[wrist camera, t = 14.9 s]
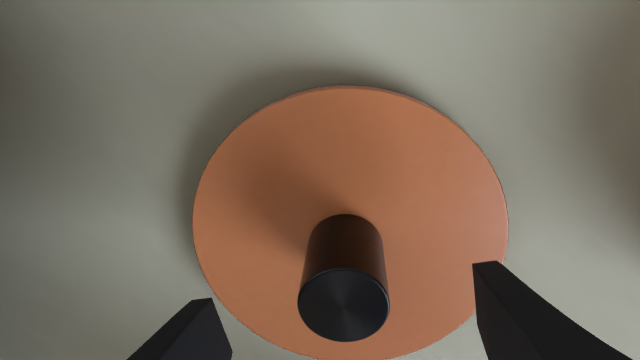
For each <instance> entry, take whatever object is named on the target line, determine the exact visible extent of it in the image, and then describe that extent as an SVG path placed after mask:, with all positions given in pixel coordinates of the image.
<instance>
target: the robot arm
mask: <svg viewBox="0 0 640 360" xmlns="http://www.w3.org/2000/svg"><path fill="white" fill-rule="evenodd" d="M472 270H473V281H474V293H475V304H476V315H477V325H478V329H479V332H480V335H481V338H482V341H483V344H484V348H485V351H486V354H487V357H488V360H632V359H631V358H629V357H627V356H626V355H624V354H622V353H621V352H619V351H617V350H616V349H614V348H612V347H611V346H609V345H608V344H606V343H604V342H603V341H601V340H600V339H598V338H597V337H595V336H594V335H593V334H591V333H590V332H588V331H587V330H585V329H584V328H582V327H581V326H579V325H578V324H577V323H575V322H574V321H572V320H571V319H570V318H568V317H567V316H565V315H564V314H563V313H562V312H560V311H559V310H558V309H556V308H555V307H554V306H552V305H551V304H550V303H548V302H547V301H546V300H544V299H543V298H542V297H541V296H539V295H538V294H537V293H536V292H534V291H533V290H532V289H531V288H529V287H528V286H527V285H526V284H525V283H523V282H522V281H521V280H520V279H519V278H517V277H516V276H515V275H514V274H513V273H512V272H510V271H509V270H508V269H507V268H506V267H505V266H503V265H502V264H501V263H500V262H498V261H497V260H495V261H487V262H480V263H472ZM231 358H232V349H231V346H230V344H229V341H228V339H227V336H226V334H225V331H224V328H223V326H222V323H221V321H220V318H219V316H218V313H217V310H216V308H215V305H214V303H213V300H212V298H205V299H198V300H192V301H190V302H189V303H188V304H187V305H185V306H184V307H183V308H182V309H181V310H180V311H179V312H178V313H176V314H175V315H174V316H173V317H172V318H171V319H170V320H169V321H168V322H167V323H166V324H165V325H163V326H162V327H161V328H160V329H159V330H158V331H157V332H156V333H155V334H154V335H153V336H152V337H151V338H150V339H149V340H147V341H146V342H145V343H144V344H143V345H142V346H141V347H140V348H139V349H138V350H137V351H136V352H135V353H133V354H132V355H131V356H130V357H129V358H128V359H127V360H231Z"/></svg>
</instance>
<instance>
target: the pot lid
mask: <svg viewBox="0 0 640 360" xmlns="http://www.w3.org/2000/svg"><path fill="white" fill-rule="evenodd" d="M508 222H509V221H508V213H507V206H506V200H505V197H504V194H503V190H502V187H501V183H500V181H499V179H498V177H497V175H496V173H495V171H494V169H493V167H492V165H491V163H490V162H489V160H488V159H487V157H486V156H485V154H484V153H483V151H482V150H481V149H480V147H479V146H478V145H477V144H476V143H475V142H474V141H473V140H472V139H471V138H470V136H469V135H468V134H467V133H466V132H465V131H464V130H463V129H462V128H461V127H460V126H458V125H457V124H456V123H455V122H453V121H452V120H451V119H450V118H448V117H447V116H446V115H445V114H443V113H441V112H440V111H438V110H436V109H434V108H433V107H431V106H429V105H428V104H426V103H424V102H421V101H419V100H417V99H414V98H412V97H409V96H407V95H405V94H401V93H397V92H394V91H390V90H386V89H382V88H375V87H367V86H360V85H335V86H328V87H320V88H313V89H309V90H306V91H302V92H298V93H295V94H291V95H289V96H286V97H284V98H282V99H279V100H277V101H275V102H272V103H270V104H268V105H267V106H265V107H263V108H262V109H260V110H258V111H257V112H255V113H253V114H252V115H251V116H249V117H248V118H247V119H246V120H245V121H243V122H242V123H241V124H240V125H238V126H237V127H236V128H235V129H234V130H233V131H232V132H231V133H230V134H229V135H228V136H227V138H226V139H225V140H224V141H223V142H222V143H221V144H220V145H219V146H218V148H217V149H216V151H215V152H214V154H213V155H212V157H211V158H210V160H209V161H208V163H207V165H206V167H205V170H204V172H203V174H202V176H201V178H200V181H199V184H198V187H197V191H196V194H195V198H194V206H193V213H192V233H193V239H194V245H195V251H196V254H197V257H198V261H199V264H200V267H201V269H202V271H203V273H204V276H205V278H206V280H207V282H208V284H209V285H210V287H211V288H212V290H213V292H214V293H215V295H216V296H217V298H218V299H219V300H220V301H221V302H222V304H223V305H224V306H225V307H226V309H227V310H228V311H229V312H230V313H231V314H232V315H233V316H234V317H235V318H237V319H238V320H239V321H240V322H241V323H242V324H243V325H245V326H246V327H247V328H249V329H250V330H251V331H253V332H254V333H256V334H257V335H259V336H261V337H262V338H264V339H265V340H267V341H269V342H271V343H273V344H275V345H277V346H279V347H281V348H283V349H286V350H289V351H292V352H294V353H297V354H300V355H304V356H308V357H312V358H316V359H321V360H385V359H391V358H395V357H398V356H402V355H406V354H409V353H412V352H414V351H417V350H420V349H422V348H425V347H427V346H429V345H431V344H433V343H435V342H437V341H439V340H440V339H442V338H443V337H445V336H446V335H448V334H450V333H451V332H453V331H454V330H455V329H456V328H458V327H459V326H460V325H461V324H463V323H464V322H465V321H466V320H467V319H468V318H469V317H470V316H471V315H472V314H473V313H474V312H475V311H476V304H475V293H474V281H473V270H472V263H480V262H487V261H495V260H497V261H498V262H500V263H501V264H503V262H504V259H505V253H506V248H507V243H508Z"/></svg>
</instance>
